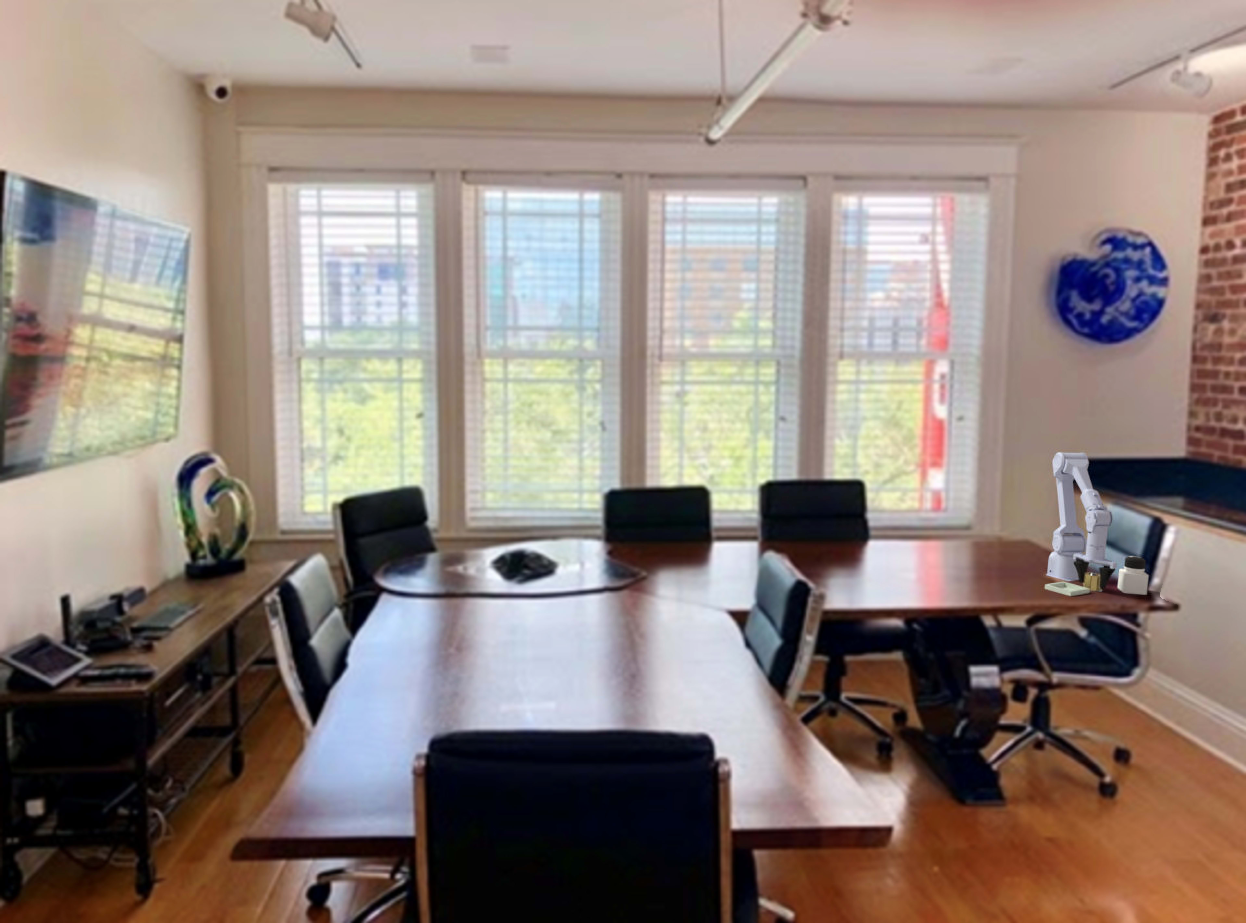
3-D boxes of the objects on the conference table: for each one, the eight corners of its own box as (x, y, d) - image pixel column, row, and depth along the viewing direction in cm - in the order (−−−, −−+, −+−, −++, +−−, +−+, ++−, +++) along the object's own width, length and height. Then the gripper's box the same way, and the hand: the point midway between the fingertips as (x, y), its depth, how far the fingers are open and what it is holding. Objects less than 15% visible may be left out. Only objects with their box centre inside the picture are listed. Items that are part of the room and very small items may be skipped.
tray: (1044, 590, 320) (1045, 584, 319) (1063, 587, 324) (1063, 581, 324) (1070, 597, 311) (1070, 591, 311) (1089, 594, 316) (1089, 588, 316)
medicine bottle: (1146, 596, 316) (1150, 560, 314) (1123, 594, 318) (1127, 559, 316) (1139, 590, 323) (1143, 555, 321) (1116, 589, 324) (1120, 554, 323)
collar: (1080, 587, 322) (1081, 573, 321) (1091, 586, 325) (1093, 571, 324) (1093, 591, 318) (1095, 576, 317) (1105, 589, 321) (1106, 575, 320)
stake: (1076, 589, 322) (1078, 571, 321) (1089, 587, 325) (1090, 570, 324) (1094, 594, 317) (1096, 576, 316) (1106, 592, 320) (1108, 574, 319)
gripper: (1068, 541, 323) (1065, 581, 325) (1108, 550, 311) (1104, 591, 312) (1082, 539, 327) (1078, 579, 328) (1122, 548, 314) (1118, 589, 316)
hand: (1092, 585), depth 321 cm, fingers open, 7 cm apart
